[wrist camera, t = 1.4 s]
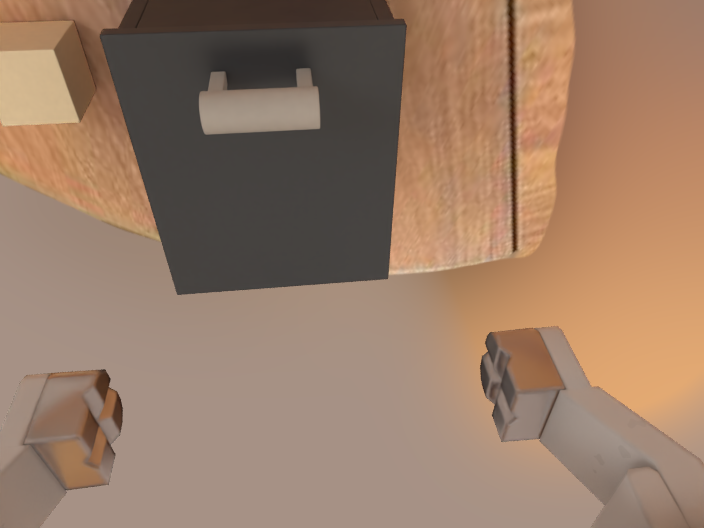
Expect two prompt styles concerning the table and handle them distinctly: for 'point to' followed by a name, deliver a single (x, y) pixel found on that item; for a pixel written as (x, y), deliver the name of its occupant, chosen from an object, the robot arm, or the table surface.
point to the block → (43, 74)
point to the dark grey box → (249, 12)
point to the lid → (265, 147)
